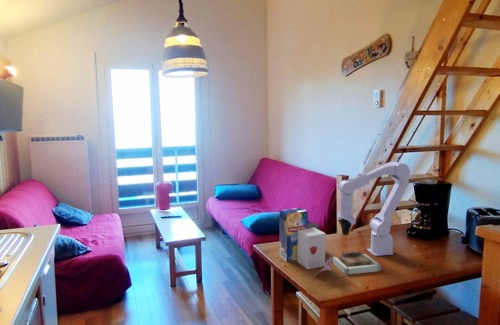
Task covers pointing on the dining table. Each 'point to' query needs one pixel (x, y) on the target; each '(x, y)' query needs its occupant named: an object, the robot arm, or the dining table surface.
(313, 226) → the jar
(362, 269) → the bay
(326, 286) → the dining table surface
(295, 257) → the beverage box
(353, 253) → the cart
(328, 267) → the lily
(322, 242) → the supplement box
